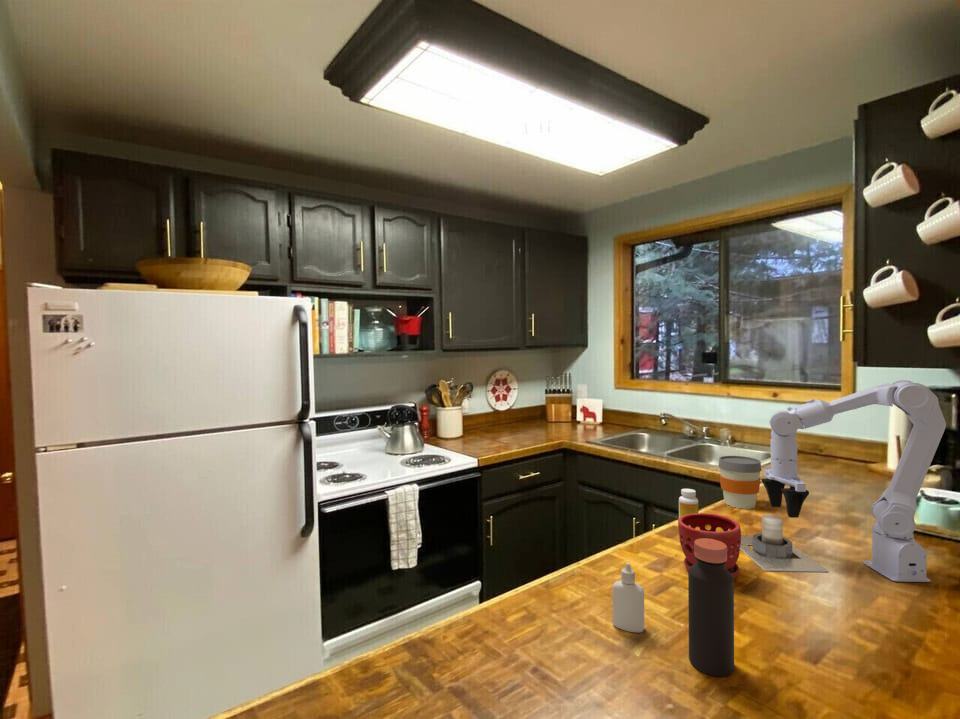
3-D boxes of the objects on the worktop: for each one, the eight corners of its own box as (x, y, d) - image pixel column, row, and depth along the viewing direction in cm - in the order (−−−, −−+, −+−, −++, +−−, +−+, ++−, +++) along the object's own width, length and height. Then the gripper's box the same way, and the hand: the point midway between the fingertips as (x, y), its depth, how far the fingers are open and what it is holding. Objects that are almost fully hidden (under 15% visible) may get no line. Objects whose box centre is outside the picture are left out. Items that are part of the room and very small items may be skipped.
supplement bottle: (700, 526, 138) (700, 493, 138) (681, 525, 139) (680, 492, 139) (696, 519, 144) (695, 488, 144) (677, 518, 145) (677, 487, 145)
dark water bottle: (720, 650, 82) (719, 535, 81) (743, 677, 75) (742, 552, 74) (681, 651, 81) (680, 536, 81) (701, 678, 75) (700, 553, 74)
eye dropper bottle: (624, 616, 92) (623, 555, 92) (648, 630, 88) (648, 566, 87) (608, 623, 90) (608, 561, 90) (633, 638, 85) (632, 572, 85)
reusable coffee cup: (770, 507, 153) (770, 461, 153) (742, 513, 149) (742, 465, 149) (736, 496, 165) (736, 454, 165) (710, 501, 161) (709, 457, 160)
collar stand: (827, 571, 109) (827, 557, 109) (764, 570, 110) (764, 556, 110) (778, 537, 129) (778, 525, 129) (725, 537, 130) (725, 525, 130)
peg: (786, 557, 117) (786, 521, 117) (767, 556, 118) (767, 520, 118) (776, 549, 122) (776, 514, 122) (758, 549, 122) (758, 514, 122)
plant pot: (707, 556, 119) (707, 508, 118) (754, 579, 106) (754, 526, 106) (666, 565, 114) (666, 515, 114) (710, 590, 102) (710, 535, 101)
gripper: (752, 452, 127) (753, 502, 128) (784, 465, 113) (784, 521, 113) (779, 452, 127) (780, 502, 127) (814, 465, 112) (815, 522, 113)
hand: (784, 511), depth 120 cm, fingers open, 7 cm apart
